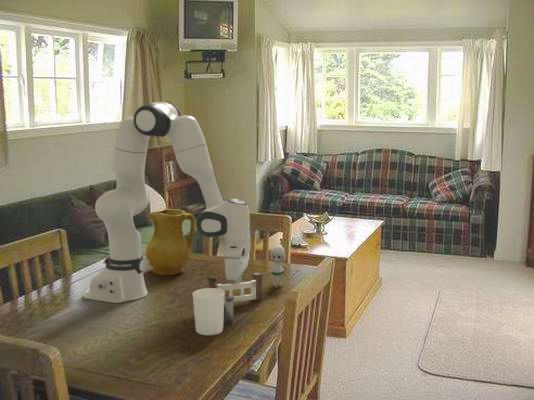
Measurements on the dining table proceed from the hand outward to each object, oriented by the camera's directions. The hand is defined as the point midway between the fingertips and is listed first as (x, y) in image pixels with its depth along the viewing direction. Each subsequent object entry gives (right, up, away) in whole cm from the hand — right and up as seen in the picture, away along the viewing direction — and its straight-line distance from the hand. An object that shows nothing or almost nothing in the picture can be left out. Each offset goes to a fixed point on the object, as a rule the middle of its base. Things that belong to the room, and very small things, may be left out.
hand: (238, 285), depth 224 cm
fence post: (+7, -5, +6) cm, 10 cm away
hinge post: (-8, -7, -4) cm, 12 cm away
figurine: (+14, -3, +22) cm, 26 cm away
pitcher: (-29, 0, +40) cm, 50 cm away
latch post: (-2, -9, -17) cm, 19 cm away
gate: (0, -5, -1) cm, 5 cm away
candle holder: (-8, -11, -24) cm, 27 cm away
